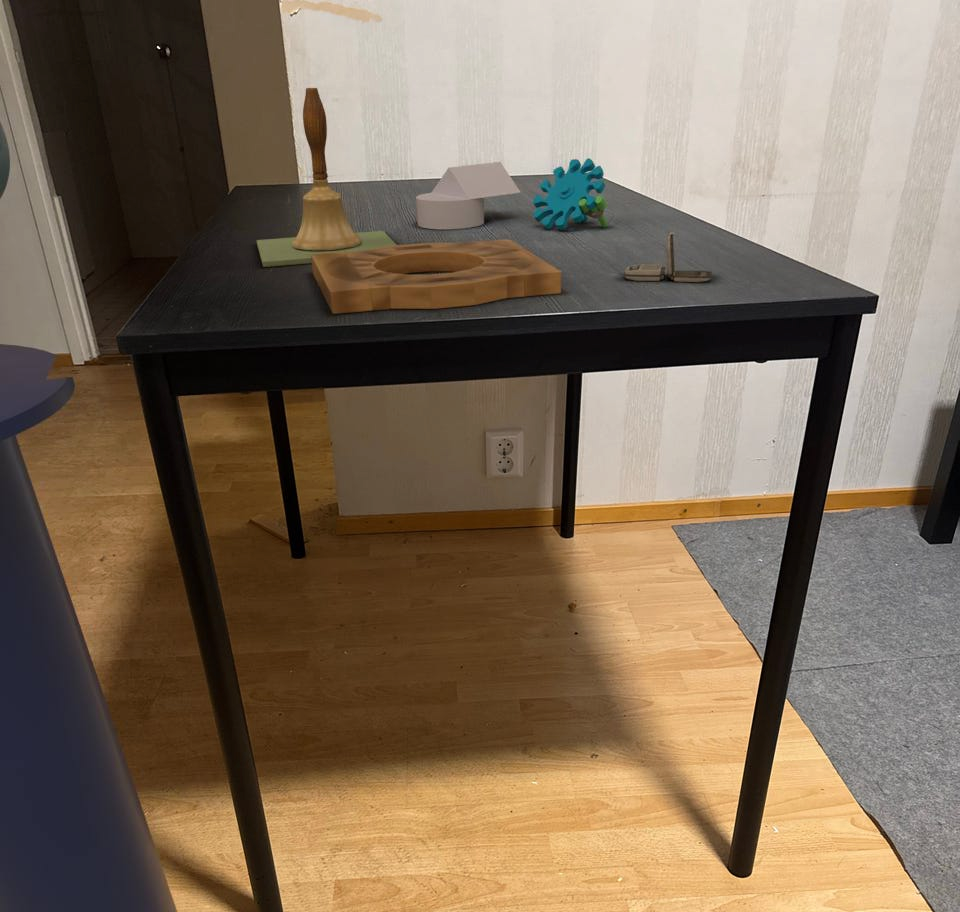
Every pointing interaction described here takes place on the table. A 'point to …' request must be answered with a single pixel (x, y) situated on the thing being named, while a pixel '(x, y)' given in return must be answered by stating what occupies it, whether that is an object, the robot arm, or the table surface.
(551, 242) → the table surface
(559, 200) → the gear
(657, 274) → the strap clip
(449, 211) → the wedge on round base
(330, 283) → the socket board
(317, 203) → the hand bell
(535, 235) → the table surface
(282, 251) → the mat
